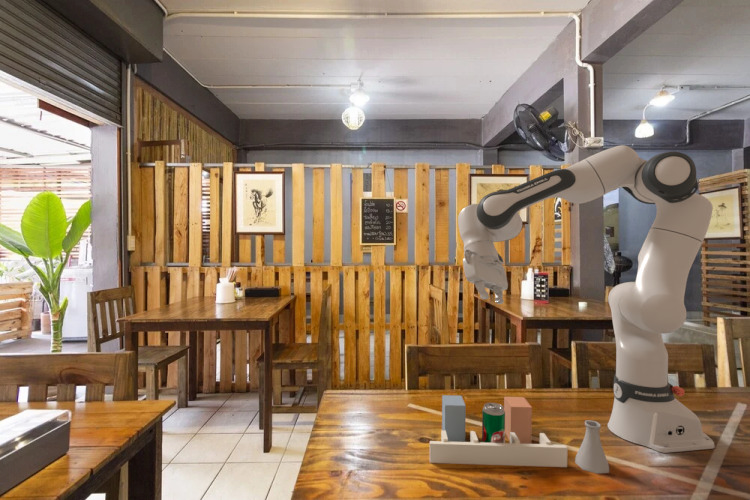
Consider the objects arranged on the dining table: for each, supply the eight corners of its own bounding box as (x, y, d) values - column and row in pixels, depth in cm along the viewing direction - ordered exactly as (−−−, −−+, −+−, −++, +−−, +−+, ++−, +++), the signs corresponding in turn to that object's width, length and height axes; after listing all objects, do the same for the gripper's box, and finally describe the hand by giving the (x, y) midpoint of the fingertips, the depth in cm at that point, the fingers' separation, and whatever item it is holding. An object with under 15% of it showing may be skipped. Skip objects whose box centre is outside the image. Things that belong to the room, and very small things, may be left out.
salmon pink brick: (521, 429, 102) (522, 395, 101) (531, 443, 95) (531, 407, 94) (502, 428, 102) (503, 395, 102) (510, 442, 95) (511, 406, 95)
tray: (538, 431, 102) (538, 410, 102) (567, 470, 85) (567, 445, 85) (424, 428, 104) (424, 407, 104) (430, 465, 87) (430, 441, 87)
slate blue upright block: (460, 427, 103) (460, 394, 102) (465, 441, 96) (465, 405, 95) (441, 427, 103) (441, 393, 103) (444, 441, 96) (445, 405, 96)
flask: (616, 479, 82) (617, 433, 82) (579, 475, 83) (580, 429, 83) (603, 460, 89) (604, 417, 89) (569, 456, 90) (570, 414, 90)
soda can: (493, 465, 87) (493, 413, 86) (477, 454, 91) (477, 404, 91) (509, 459, 89) (510, 408, 89) (493, 449, 94) (493, 400, 93)
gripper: (473, 243, 105) (486, 292, 99) (505, 259, 119) (517, 302, 114) (453, 252, 108) (464, 299, 103) (486, 266, 123) (498, 308, 117)
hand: (492, 301), depth 108 cm, fingers open, 8 cm apart
